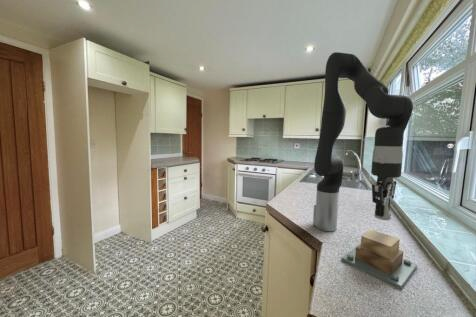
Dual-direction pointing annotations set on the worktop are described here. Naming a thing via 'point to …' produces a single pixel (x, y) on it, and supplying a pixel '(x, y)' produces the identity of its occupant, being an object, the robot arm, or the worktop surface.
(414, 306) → the worktop surface
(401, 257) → the stepped wooden plinth
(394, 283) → the baseplate
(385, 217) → the rook chess piece
